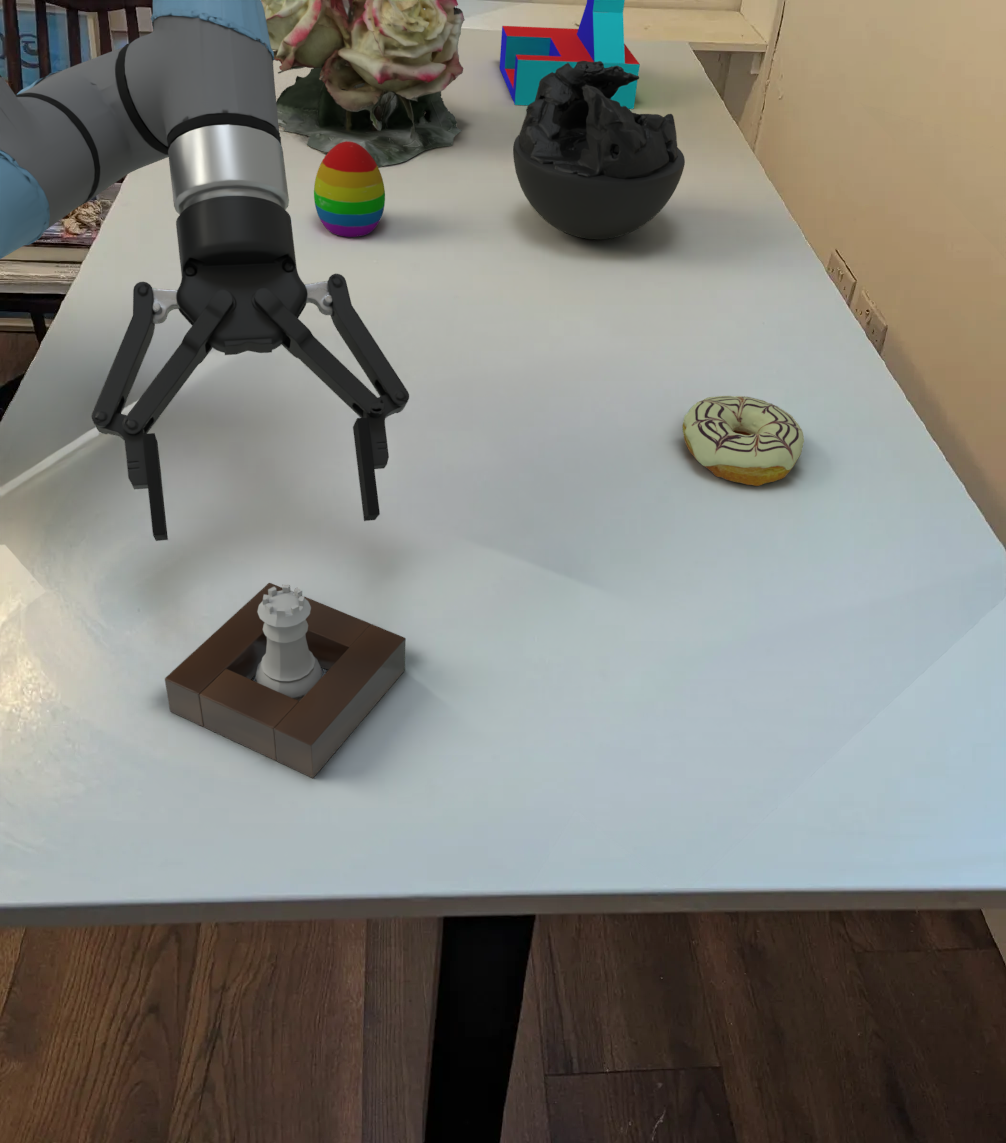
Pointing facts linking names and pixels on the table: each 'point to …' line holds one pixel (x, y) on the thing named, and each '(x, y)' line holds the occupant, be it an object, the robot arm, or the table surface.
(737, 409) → the decorated donut
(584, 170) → the coal bowl
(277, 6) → the rose bouquet
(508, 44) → the building blocks toy
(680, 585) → the table surface
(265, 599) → the rook chess piece
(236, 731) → the brown square frame
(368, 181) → the decorative egg
